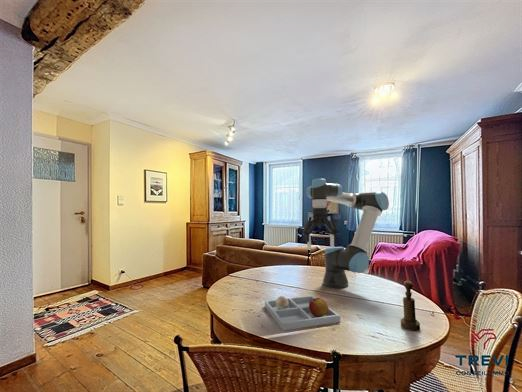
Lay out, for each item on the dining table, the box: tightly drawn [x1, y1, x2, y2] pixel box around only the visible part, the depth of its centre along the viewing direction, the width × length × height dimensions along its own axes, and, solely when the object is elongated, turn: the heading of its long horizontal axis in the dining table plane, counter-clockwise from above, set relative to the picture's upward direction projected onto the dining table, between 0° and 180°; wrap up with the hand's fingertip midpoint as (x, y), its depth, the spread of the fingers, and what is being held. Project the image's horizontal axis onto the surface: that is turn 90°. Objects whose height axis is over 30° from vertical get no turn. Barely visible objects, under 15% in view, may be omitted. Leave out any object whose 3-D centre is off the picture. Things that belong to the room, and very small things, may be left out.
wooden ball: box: [275, 295, 289, 310], centre depth 116 cm, size 6×6×6 cm
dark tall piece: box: [400, 280, 421, 332], centre depth 99 cm, size 7×6×18 cm
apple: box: [309, 297, 330, 317], centre depth 107 cm, size 8×8×8 cm
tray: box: [264, 295, 341, 333], centre depth 111 cm, size 25×25×4 cm
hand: (320, 247), depth 133 cm, fingers open, 13 cm apart
